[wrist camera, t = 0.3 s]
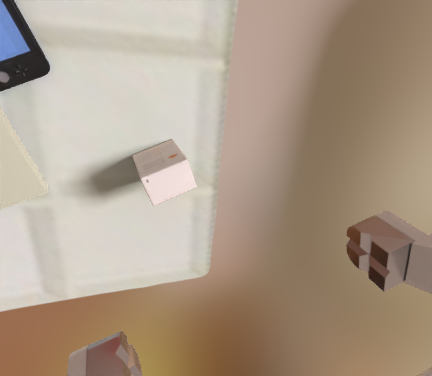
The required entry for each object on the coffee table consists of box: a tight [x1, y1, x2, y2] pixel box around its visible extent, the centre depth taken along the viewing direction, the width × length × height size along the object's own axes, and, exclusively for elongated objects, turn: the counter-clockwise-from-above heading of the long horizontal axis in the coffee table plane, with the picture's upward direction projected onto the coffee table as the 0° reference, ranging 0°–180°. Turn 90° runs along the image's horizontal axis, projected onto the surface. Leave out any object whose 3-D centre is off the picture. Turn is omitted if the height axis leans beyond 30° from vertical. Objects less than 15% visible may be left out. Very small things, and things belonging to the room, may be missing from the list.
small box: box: [132, 139, 197, 206], centre depth 52 cm, size 8×6×10 cm
